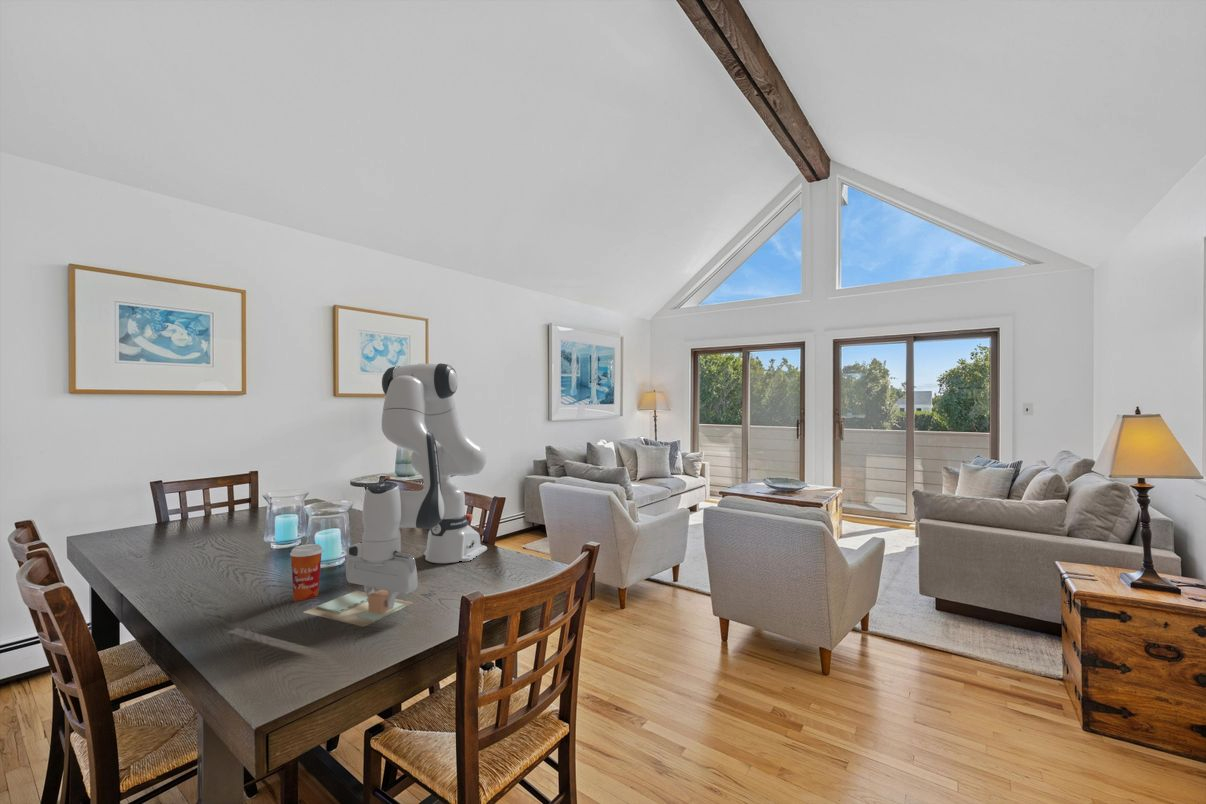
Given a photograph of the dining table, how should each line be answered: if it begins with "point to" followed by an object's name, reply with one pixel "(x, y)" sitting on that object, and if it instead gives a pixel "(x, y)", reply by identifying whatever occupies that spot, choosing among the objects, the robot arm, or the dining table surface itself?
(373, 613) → the stub
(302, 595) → the paper cup
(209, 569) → the dining table surface
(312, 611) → the board
